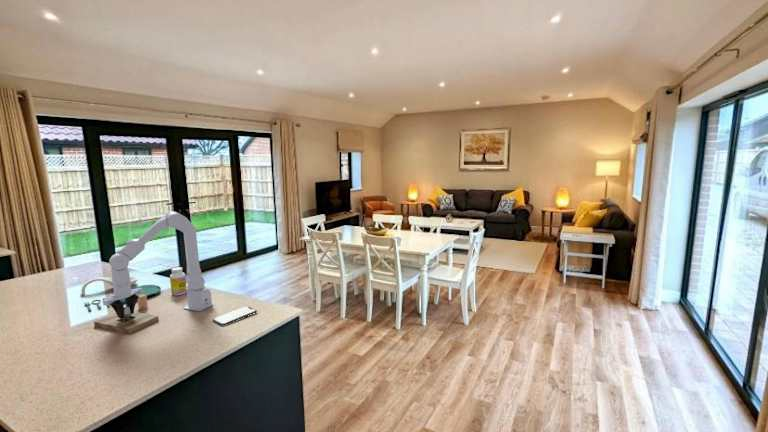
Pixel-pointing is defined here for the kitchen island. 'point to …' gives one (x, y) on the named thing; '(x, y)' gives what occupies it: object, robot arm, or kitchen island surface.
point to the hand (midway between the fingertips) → (126, 315)
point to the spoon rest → (105, 279)
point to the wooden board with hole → (126, 327)
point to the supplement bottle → (178, 281)
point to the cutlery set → (146, 290)
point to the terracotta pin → (142, 302)
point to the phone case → (234, 315)
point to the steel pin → (126, 313)
